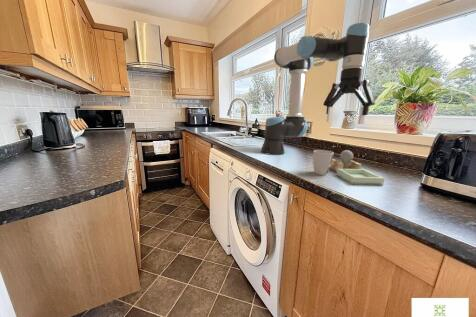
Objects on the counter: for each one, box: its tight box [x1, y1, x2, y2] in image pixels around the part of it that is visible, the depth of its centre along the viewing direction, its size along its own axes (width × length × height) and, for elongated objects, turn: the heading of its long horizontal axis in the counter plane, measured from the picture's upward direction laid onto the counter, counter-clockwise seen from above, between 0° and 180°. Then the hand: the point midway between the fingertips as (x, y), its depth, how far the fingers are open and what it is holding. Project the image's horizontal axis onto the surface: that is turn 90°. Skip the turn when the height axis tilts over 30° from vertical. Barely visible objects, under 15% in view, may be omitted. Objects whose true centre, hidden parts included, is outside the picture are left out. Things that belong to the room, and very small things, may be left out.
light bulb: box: [339, 149, 354, 169], centre depth 92 cm, size 5×6×10 cm
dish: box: [336, 168, 386, 186], centre depth 80 cm, size 12×12×3 cm
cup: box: [312, 149, 335, 176], centre depth 86 cm, size 8×8×10 cm
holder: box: [330, 158, 362, 173], centre depth 92 cm, size 9×9×4 cm
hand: (343, 122), depth 82 cm, fingers open, 13 cm apart
